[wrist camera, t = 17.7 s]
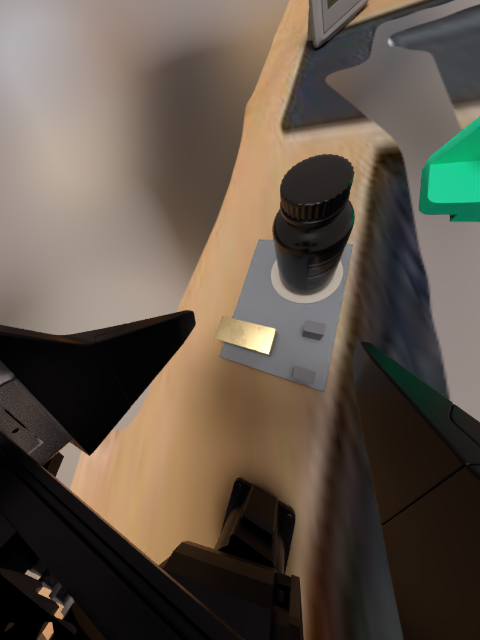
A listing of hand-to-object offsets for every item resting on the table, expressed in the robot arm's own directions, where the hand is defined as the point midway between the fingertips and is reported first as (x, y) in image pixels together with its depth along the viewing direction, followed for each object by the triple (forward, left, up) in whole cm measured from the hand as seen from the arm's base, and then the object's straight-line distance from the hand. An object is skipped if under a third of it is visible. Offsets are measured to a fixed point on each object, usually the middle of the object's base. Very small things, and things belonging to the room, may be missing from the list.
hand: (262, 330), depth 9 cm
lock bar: (+1, +4, -12) cm, 13 cm away
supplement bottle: (+11, -1, -12) cm, 17 cm away
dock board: (+7, +1, -14) cm, 15 cm away
